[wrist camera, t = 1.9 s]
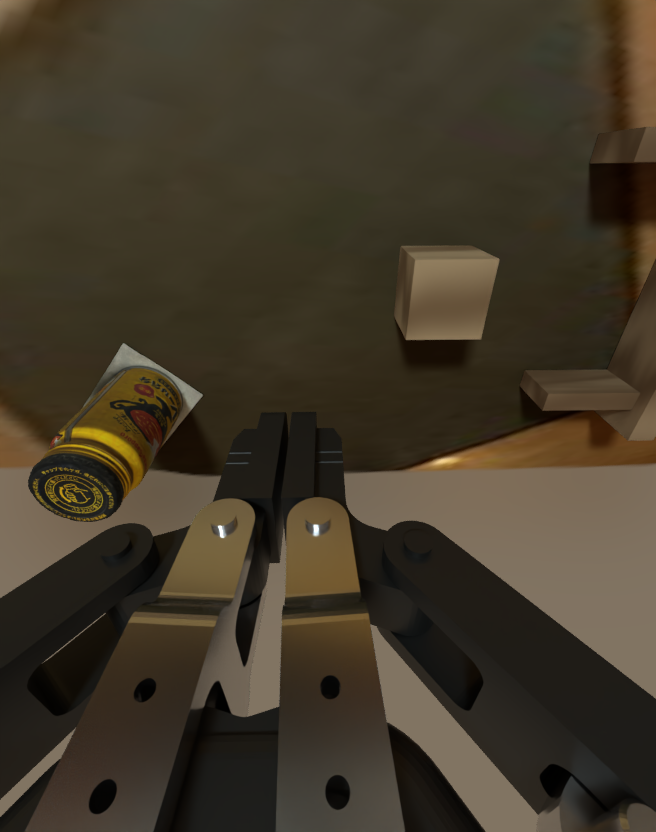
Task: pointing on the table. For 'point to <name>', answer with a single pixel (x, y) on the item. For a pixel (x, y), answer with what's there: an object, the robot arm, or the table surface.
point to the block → (443, 291)
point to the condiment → (111, 439)
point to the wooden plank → (638, 347)
